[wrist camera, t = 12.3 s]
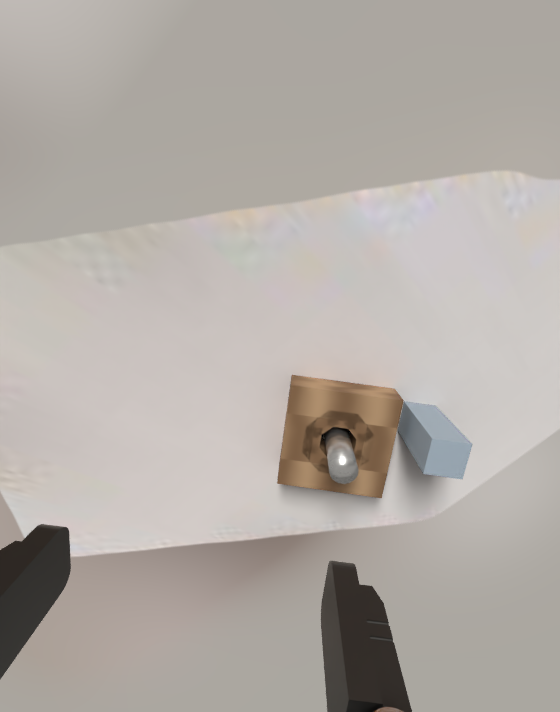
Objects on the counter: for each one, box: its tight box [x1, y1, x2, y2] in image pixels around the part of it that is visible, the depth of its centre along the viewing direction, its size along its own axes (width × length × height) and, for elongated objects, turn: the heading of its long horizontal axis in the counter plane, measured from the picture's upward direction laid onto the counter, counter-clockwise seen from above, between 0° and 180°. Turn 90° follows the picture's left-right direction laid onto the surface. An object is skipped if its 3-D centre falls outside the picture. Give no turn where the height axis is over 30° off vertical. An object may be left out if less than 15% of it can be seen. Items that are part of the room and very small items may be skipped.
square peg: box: [398, 402, 472, 479], centre depth 41 cm, size 4×4×10 cm
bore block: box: [277, 375, 404, 498], centre depth 45 cm, size 13×13×4 cm
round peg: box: [324, 427, 359, 484], centre depth 42 cm, size 3×3×10 cm
